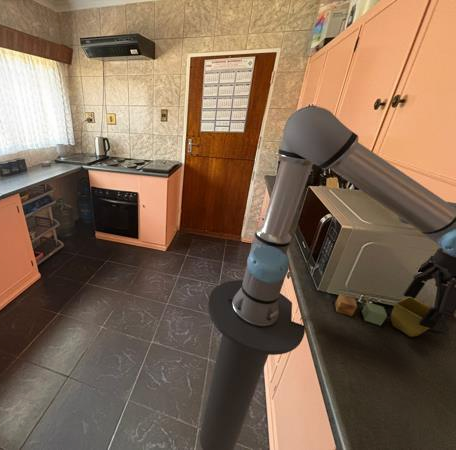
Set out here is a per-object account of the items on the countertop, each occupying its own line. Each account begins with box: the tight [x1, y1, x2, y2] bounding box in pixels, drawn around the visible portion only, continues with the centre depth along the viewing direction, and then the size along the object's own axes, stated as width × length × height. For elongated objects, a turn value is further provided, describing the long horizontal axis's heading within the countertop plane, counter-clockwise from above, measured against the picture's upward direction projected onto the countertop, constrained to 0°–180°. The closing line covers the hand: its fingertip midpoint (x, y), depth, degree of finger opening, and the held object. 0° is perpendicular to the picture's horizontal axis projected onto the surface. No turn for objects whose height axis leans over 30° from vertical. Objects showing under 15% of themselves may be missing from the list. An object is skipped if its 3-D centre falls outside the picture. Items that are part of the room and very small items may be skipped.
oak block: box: [334, 293, 358, 317], centre depth 86 cm, size 4×4×4 cm
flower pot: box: [390, 297, 432, 338], centre depth 78 cm, size 9×9×9 cm
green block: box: [361, 301, 388, 326], centre depth 83 cm, size 4×4×4 cm
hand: (416, 310), depth 77 cm, fingers open, 13 cm apart
